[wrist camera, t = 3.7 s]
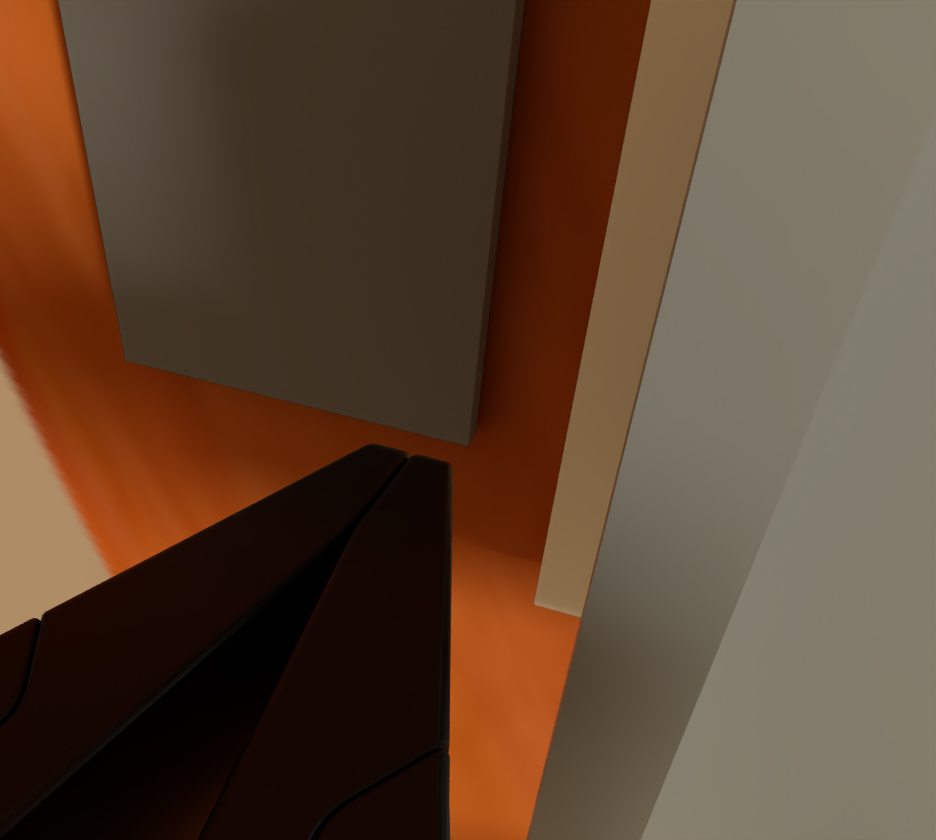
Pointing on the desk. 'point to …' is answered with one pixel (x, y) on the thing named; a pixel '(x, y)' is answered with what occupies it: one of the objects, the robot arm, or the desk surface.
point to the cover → (776, 467)
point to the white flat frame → (630, 280)
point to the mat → (303, 193)
